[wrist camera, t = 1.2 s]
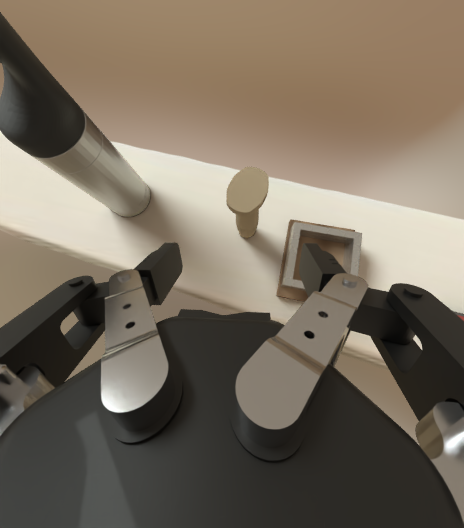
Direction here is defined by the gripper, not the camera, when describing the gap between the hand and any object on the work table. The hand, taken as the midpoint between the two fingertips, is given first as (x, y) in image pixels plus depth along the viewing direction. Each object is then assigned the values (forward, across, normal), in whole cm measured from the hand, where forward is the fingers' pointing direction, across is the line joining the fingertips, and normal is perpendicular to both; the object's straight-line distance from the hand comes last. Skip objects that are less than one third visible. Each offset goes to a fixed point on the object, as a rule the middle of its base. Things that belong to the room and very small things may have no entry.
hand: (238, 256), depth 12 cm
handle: (+26, 0, +8) cm, 27 cm away
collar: (+21, -13, +12) cm, 27 cm away
